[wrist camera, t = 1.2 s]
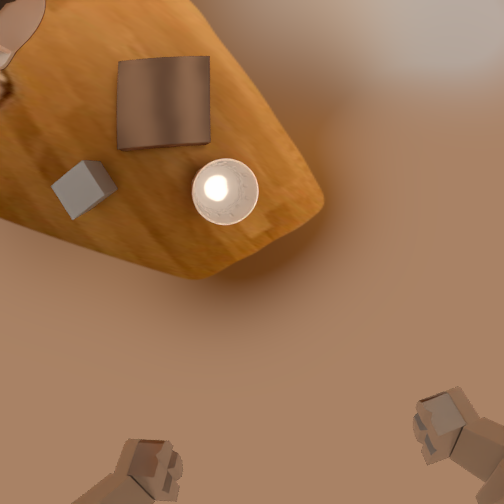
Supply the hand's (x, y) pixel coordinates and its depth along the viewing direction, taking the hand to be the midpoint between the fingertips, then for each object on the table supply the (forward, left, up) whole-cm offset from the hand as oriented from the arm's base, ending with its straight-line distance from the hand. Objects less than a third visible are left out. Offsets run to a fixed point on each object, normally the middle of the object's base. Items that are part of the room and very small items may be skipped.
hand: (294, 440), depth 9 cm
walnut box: (-3, +17, -41) cm, 45 cm away
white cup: (+4, +5, -41) cm, 41 cm away
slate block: (-14, +7, -41) cm, 44 cm away
